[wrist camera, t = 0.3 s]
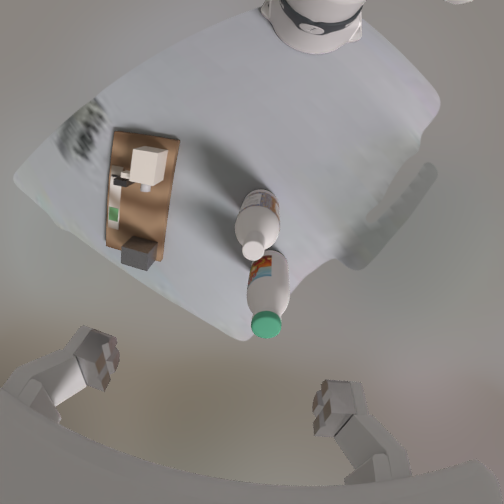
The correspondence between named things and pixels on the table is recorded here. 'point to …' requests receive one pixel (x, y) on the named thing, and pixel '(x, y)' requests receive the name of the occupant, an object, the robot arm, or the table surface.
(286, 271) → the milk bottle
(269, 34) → the table surface
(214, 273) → the table surface
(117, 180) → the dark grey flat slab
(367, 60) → the table surface
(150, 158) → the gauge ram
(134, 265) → the dark grey cube
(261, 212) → the bath foam
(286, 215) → the table surface
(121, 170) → the wooden tray
